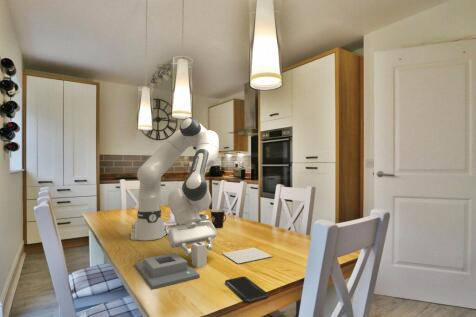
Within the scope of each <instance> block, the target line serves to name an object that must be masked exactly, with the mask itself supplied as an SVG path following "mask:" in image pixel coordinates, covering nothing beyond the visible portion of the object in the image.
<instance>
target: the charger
mask: <svg viewBox="0 0 476 317" xmlns="http://www.w3.org/2000/svg"><path fill="white" fill-rule="evenodd" d="M207 245H208V243H204V241H203V242H198V243H193V244H191V252H192V253H191V265H192V266H194V267H196V268H201V267H205V266H207V264H208V263H207V262H208V261H207V258H208V257H207V253H208V252H207V251H208V249H207Z"/></svg>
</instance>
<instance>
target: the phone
mask: <svg viewBox="0 0 476 317" xmlns="http://www.w3.org/2000/svg"><path fill="white" fill-rule="evenodd" d="M224 283H225V285H226V286H227V287H228V288H229V289H230V290H231V291H232V292H233V293H234V294H235V295H236V296H237V297H239V298H240V300H242V301H243V302H244V303H247V304H248V303H253V302H257V301H260V300H264V299H267V298H268V297H269V294H268V292H267V291H265V290H264V289H263V288H262V287H260V286H259V285H257V283H255V282H253V281H252V280H251V279H250V278H248V277H247V276H239V277H238V276H237V277H234V278H230V279H229V278H228V279H225V281H224Z"/></svg>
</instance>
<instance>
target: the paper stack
mask: <svg viewBox="0 0 476 317" xmlns="http://www.w3.org/2000/svg"><path fill="white" fill-rule="evenodd" d="M222 254H223V256H225V257H227V258H228V259H230V260H232V261H233V262H235V263H236V264H242V263H247V262H252V261H257V260H262V259H266V258H272V257H273V255H271V254H269V253H267V252H264V251H263V250H262V249H261V250H260V249H259V248H256V247H255V246H254V247H250V248H244V249H238V250H233V251H228V252H227V251H226V252H223V253H222Z"/></svg>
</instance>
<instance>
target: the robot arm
mask: <svg viewBox="0 0 476 317" xmlns="http://www.w3.org/2000/svg"><path fill="white" fill-rule="evenodd" d="M179 124H180V125H179V129H178V130H176V131H175V132H173V133H172V134H171V135H170V136H169V137H168V138H167V139H166V140H165V141H164V142H163V143H162V145H160V147H159V148H158V149H157V150H156V151H155V152H154V153H153V154H152V155H150V157H149V158H147V160H146V161H145V162H144V163H143V164H142V165H141V166H140V167H139V168H138V170H137V173H136V174H137V175H136V177H137V180H138V181H139V189H138V192H139V193H138V210H137V212H136V213H137V215H136V218H137V219H136V220H135V222H134V224H132V225H131V230H132V231H130V234H129V235H131V236H130V241H152V240H154V241H155V240H158V239H161V238H163V237H164V236H167V238H168V239H167V240H168V243H169V246H170V248H172V249H176V248H180V249H181V250H182V251H183V252H184V253H185V255H186V256H190V255H191V256H192V248H188V247H187V246H189V245H192V244H193V243H198V242H203V243H204V242H206V244H207V251H212V250H213V247H214V246H213V245H212V243H213V242H212V241H213V240H215V239H216V237H217V234H218V232H217V228H215V227H214V225H213V224H212V220H209V219H210V217H209V215H208V214H204V213H200V212H203V211H204V210H207V209H208V208H209V207H210V206H211V204H212V200H213V199H212V195H211V193H210V190H209V188H208V184H207V181H206V178H205V176H206V171H207V168H208V167H211V166H214V165H215V164H216V163H217V160H218V157H219V153H220V152H219V150H220V140H219V135H218V134H217V133H216V132H215V131H213V130H210V129H209V130H208V129H207V128H205V127H204V126H203V125H202V124H201V123H200V122H199V120H197V119H196V118H194V117H191V116H190V117H186V118H185V119H183V120H182V121H181V123H179ZM189 147H192V148H193V150H195V153H194V155H193V156H194V157H193V160H192V164H191V167H190V170H189V173H188V175H187V177H186V178H185V179H184V181H183V183H182V187H177V188H174V189H172V191H170V193H169V194H168V198H167V199H168V200H167V201H168V205H169V208H170V211H171V214H172V215H173V216H174V221H175V223H174V224H169V225H167V226H166V227H165V221H164V219H163V218H162V209H161V189H162V186H161V185H162V177H163V175H164V174H165V173H166V172H168V170H169V169H170V168H171V167H172V166H173V164H174V163H175V162H176V161H178V159H179V158H180V157H181V156H182V155H183V154H184V152H185V151H186V150H187V149H188V148H189ZM166 234H167V235H166Z"/></svg>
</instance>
